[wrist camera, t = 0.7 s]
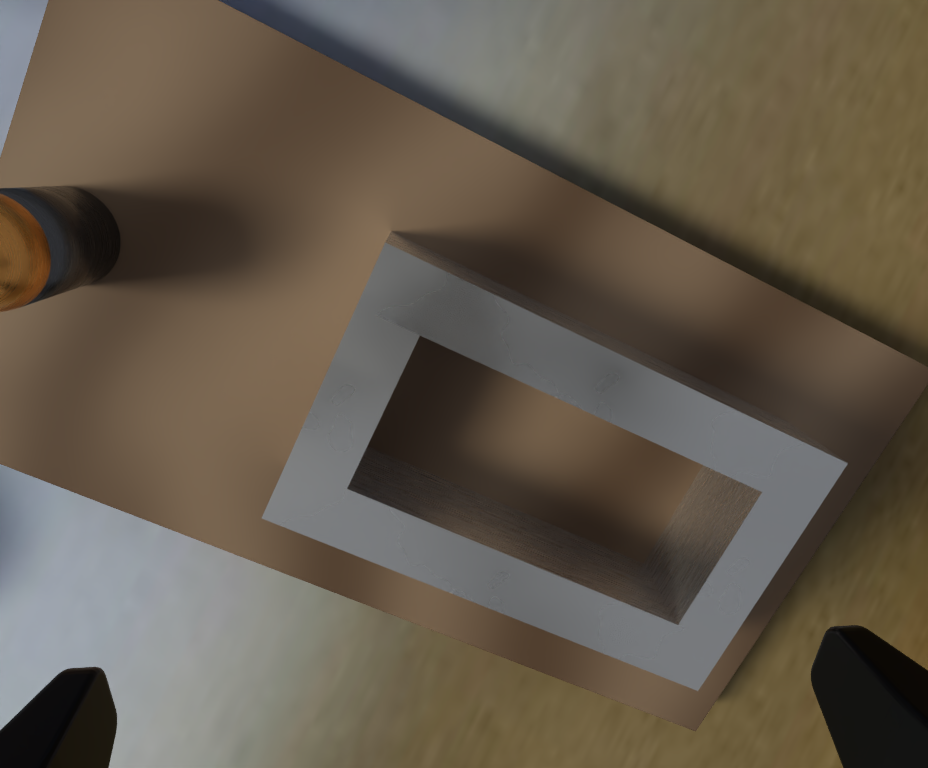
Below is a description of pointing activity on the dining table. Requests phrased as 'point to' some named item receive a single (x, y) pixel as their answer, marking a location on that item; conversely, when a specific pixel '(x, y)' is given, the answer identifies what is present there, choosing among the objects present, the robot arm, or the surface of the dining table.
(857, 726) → the robot arm
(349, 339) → the grey rectangular frame
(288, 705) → the dining table surface
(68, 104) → the keeper board
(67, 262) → the keeper stud
